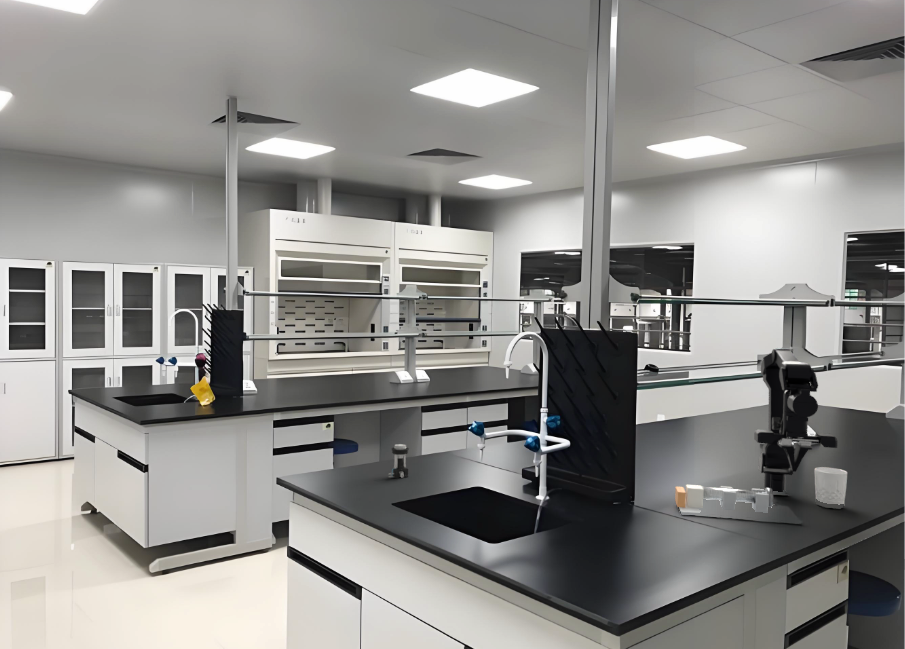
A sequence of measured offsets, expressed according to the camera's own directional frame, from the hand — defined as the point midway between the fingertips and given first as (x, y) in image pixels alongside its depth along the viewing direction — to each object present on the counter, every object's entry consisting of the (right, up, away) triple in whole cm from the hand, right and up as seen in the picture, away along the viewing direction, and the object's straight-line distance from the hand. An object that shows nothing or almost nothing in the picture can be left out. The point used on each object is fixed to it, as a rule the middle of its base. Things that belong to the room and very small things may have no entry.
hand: (793, 471), depth 175 cm
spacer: (-24, -10, +6) cm, 27 cm away
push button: (-106, -10, +34) cm, 112 cm away
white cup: (+16, -12, +11) cm, 23 cm away
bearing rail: (-14, -12, +3) cm, 18 cm away
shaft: (-14, -10, +3) cm, 17 cm away
